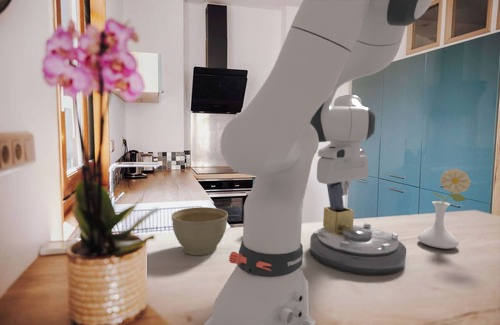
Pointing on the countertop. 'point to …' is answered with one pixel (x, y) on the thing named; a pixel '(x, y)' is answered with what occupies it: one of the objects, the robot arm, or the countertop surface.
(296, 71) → the robot arm
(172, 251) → the countertop surface
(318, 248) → the housing
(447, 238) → the flower in vase
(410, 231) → the countertop surface
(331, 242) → the grey round disc
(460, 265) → the countertop surface
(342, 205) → the pin
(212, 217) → the planter bowl
